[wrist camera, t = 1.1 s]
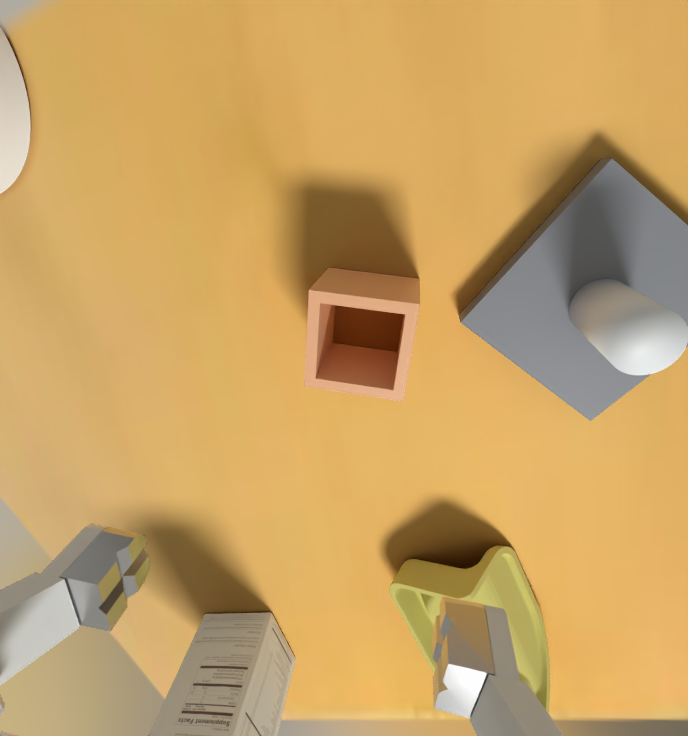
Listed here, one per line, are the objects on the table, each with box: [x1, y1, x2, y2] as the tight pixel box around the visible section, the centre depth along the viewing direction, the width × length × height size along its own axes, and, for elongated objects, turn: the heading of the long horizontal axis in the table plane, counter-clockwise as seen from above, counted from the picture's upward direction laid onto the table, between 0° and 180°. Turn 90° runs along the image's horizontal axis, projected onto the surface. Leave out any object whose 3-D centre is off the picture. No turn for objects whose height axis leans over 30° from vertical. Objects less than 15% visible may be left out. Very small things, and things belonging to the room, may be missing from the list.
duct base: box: [459, 158, 688, 421], centre depth 24 cm, size 12×12×8 cm
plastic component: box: [389, 545, 550, 712], centre depth 41 cm, size 20×7×10 cm
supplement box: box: [148, 612, 296, 736], centre depth 43 cm, size 10×9×17 cm
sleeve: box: [304, 268, 420, 402], centre depth 28 cm, size 6×6×6 cm
